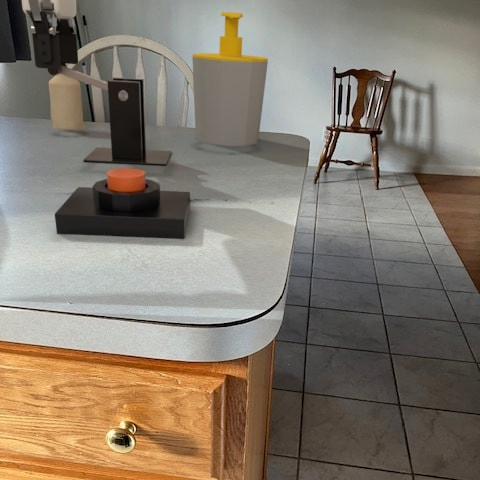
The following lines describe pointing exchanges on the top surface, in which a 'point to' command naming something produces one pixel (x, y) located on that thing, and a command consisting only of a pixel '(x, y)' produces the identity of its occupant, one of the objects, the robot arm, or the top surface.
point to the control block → (124, 212)
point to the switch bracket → (127, 127)
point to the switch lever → (79, 76)
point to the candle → (66, 103)
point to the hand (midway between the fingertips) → (58, 65)
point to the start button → (126, 179)
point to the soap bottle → (228, 91)
